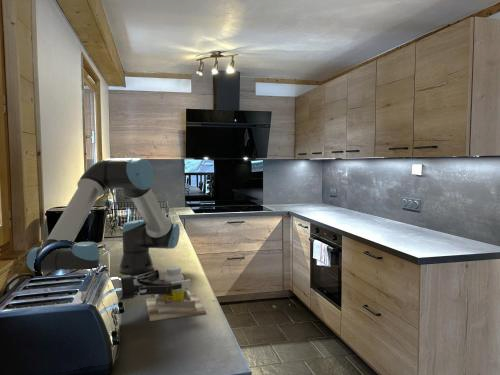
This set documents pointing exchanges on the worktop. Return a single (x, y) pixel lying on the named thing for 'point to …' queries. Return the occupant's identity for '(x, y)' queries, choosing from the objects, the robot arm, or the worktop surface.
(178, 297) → the supplement bottle
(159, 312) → the holder board
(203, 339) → the worktop surface
